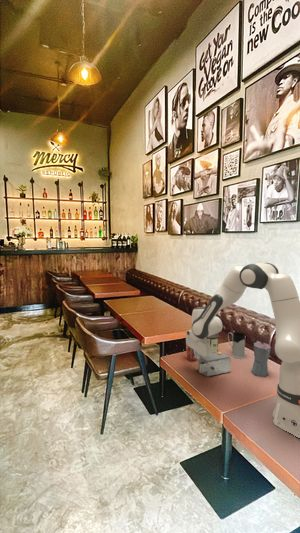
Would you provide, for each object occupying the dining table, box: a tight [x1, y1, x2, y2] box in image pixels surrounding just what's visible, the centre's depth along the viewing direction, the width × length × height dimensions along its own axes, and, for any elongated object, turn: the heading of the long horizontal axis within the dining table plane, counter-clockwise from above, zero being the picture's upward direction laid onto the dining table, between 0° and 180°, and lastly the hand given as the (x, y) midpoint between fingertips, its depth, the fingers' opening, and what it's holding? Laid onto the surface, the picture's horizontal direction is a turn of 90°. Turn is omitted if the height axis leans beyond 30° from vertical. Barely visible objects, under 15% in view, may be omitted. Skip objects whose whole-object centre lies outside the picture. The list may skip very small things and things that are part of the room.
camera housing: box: [197, 351, 231, 377], centre depth 161 cm, size 8×17×10 cm, turn 114°
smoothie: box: [185, 343, 197, 362], centre depth 175 cm, size 8×8×20 cm
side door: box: [199, 357, 232, 377], centre depth 155 cm, size 2×21×8 cm, turn 114°
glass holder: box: [227, 331, 246, 360], centre depth 185 cm, size 9×14×15 cm, turn 29°
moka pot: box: [251, 339, 272, 378], centre depth 159 cm, size 10×15×20 cm, turn 11°
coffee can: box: [206, 333, 220, 353], centre depth 183 cm, size 10×10×14 cm
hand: (197, 358), depth 157 cm, fingers closed
